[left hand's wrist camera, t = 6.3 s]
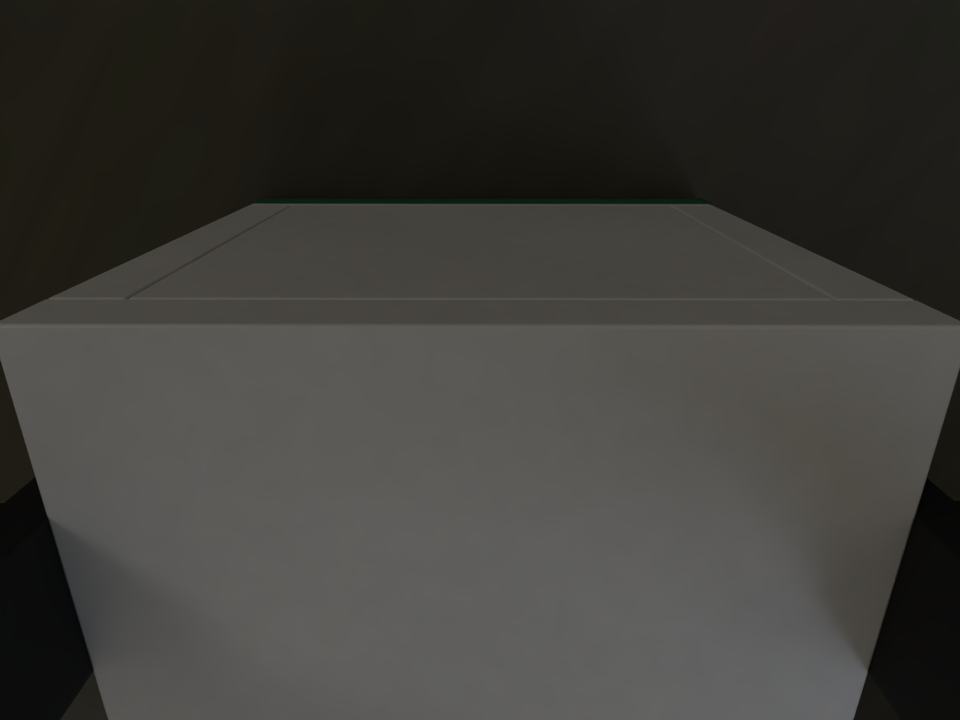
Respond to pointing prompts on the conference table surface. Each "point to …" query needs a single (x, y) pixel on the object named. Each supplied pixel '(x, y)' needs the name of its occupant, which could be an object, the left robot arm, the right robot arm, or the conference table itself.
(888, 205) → the conference table surface
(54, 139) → the conference table surface
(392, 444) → the cabinet
